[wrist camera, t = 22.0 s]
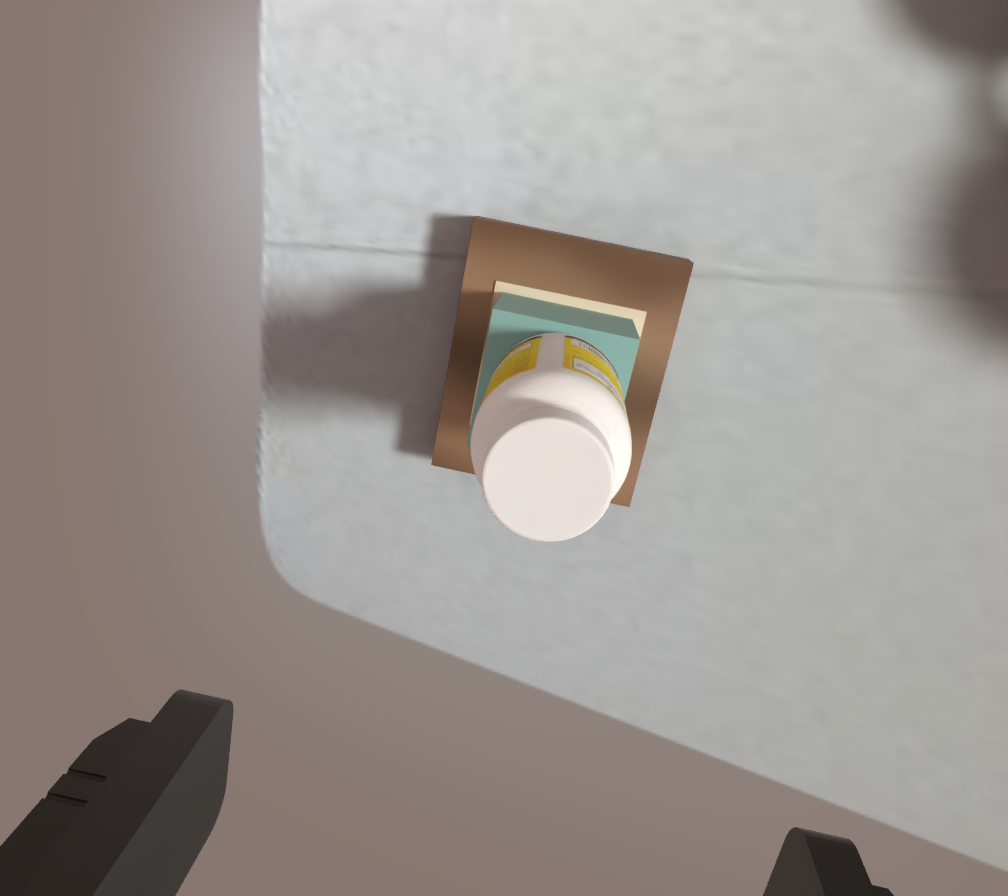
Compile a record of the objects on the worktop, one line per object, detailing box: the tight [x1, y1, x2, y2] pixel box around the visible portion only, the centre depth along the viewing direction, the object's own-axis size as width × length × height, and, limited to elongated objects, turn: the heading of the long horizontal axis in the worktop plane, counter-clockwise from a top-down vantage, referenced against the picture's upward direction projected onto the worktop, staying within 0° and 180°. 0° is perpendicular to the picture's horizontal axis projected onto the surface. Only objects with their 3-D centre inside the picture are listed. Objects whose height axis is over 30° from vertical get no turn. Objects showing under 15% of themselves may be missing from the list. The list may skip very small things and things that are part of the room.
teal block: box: [466, 292, 640, 449], centre depth 36 cm, size 6×6×5 cm
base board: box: [431, 216, 694, 507], centre depth 39 cm, size 12×10×2 cm
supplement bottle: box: [471, 333, 632, 541], centre depth 29 cm, size 5×5×10 cm
